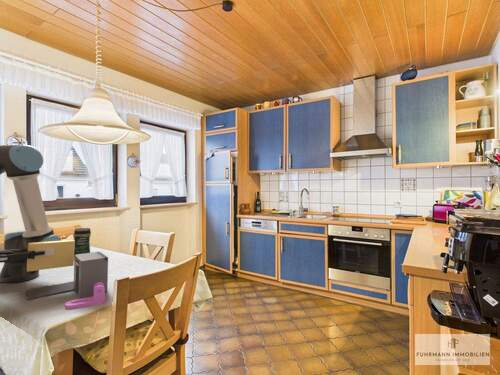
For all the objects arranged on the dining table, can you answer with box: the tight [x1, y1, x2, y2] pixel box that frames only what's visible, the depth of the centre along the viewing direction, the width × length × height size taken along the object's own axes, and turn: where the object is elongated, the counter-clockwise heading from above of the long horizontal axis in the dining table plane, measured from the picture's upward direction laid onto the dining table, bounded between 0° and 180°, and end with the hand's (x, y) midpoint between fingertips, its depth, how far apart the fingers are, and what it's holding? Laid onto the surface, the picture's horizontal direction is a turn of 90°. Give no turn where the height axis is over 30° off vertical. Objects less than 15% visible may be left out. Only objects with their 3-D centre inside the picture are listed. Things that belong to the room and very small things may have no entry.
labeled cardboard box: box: [27, 239, 75, 272], centre depth 116 cm, size 4×16×11 cm, turn 133°
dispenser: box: [73, 251, 109, 299], centre depth 117 cm, size 14×11×15 cm
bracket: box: [64, 282, 106, 310], centre depth 104 cm, size 13×6×7 cm, turn 121°
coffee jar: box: [73, 227, 92, 255], centre depth 175 cm, size 10×8×19 cm
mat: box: [24, 280, 76, 301], centre depth 117 cm, size 12×18×1 cm, turn 133°
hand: (53, 250), depth 116 cm, fingers closed on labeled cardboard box, 4 cm apart
